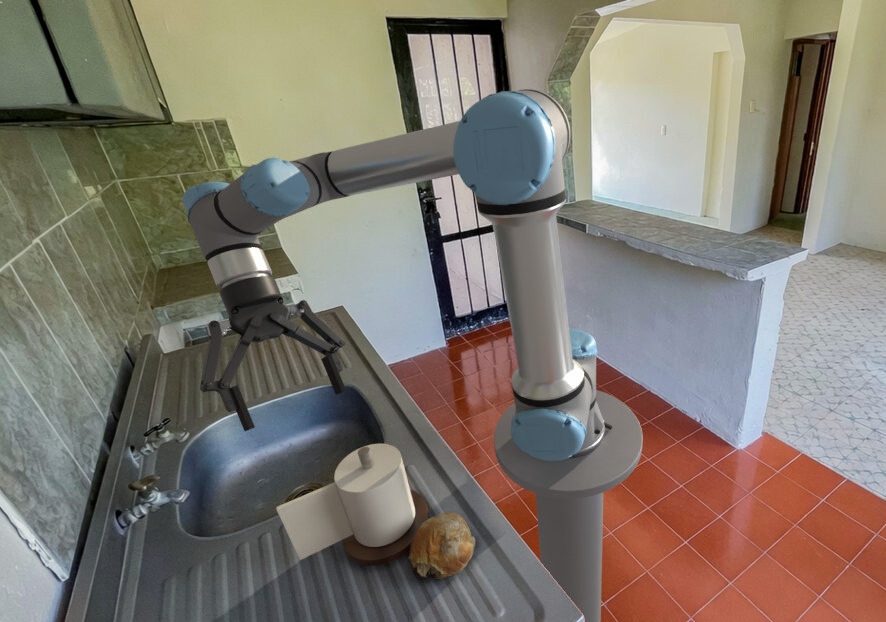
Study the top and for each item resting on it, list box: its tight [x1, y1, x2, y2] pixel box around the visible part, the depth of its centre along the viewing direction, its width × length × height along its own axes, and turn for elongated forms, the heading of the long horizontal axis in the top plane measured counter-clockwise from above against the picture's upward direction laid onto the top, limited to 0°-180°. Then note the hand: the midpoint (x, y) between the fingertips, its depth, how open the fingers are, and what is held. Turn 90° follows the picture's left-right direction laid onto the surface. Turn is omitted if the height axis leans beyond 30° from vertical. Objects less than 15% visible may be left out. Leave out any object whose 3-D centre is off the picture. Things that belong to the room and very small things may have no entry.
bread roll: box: [407, 511, 476, 580], centre depth 72 cm, size 10×10×8 cm
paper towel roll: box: [275, 443, 415, 561], centre depth 73 cm, size 18×10×12 cm, turn 106°
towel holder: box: [340, 446, 430, 567], centre depth 74 cm, size 14×14×18 cm
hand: (298, 410), depth 70 cm, fingers open, 13 cm apart
